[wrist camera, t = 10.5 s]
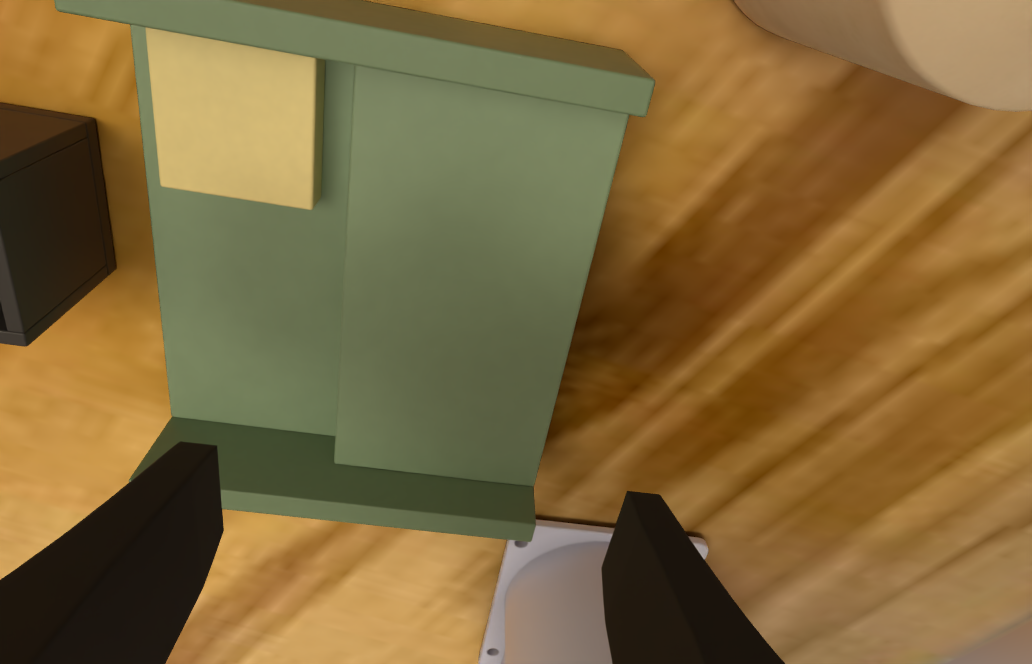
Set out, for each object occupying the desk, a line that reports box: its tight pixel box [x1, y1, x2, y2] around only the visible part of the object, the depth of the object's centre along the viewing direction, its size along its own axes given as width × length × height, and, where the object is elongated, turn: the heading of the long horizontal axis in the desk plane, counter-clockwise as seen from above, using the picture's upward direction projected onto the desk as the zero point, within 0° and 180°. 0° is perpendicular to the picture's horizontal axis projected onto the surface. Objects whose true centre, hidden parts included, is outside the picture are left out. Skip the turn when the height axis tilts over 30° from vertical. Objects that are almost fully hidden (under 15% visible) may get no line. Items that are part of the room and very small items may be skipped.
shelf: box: [54, 0, 655, 542], centre depth 19 cm, size 14×12×4 cm
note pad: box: [145, 27, 325, 210], centre depth 16 cm, size 4×4×1 cm
